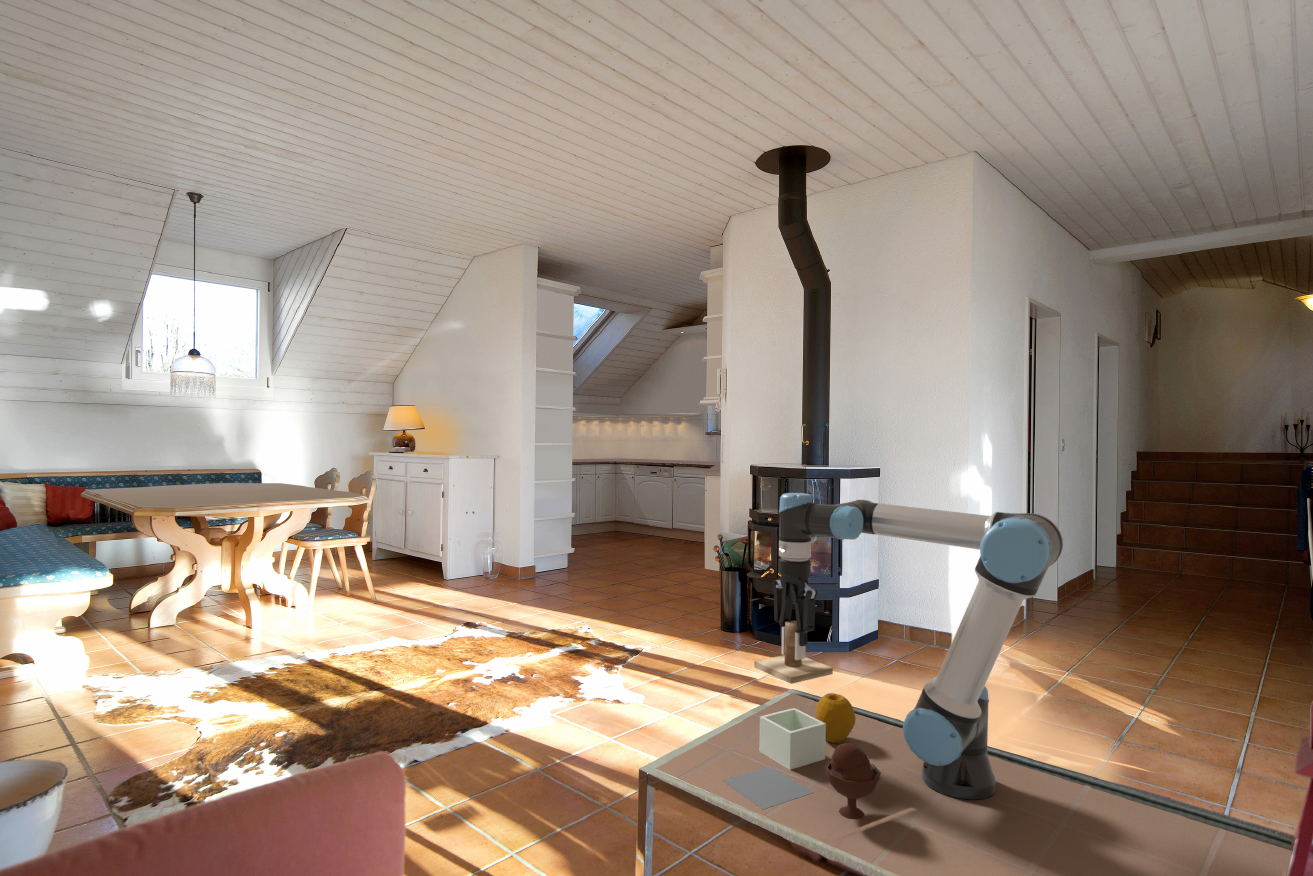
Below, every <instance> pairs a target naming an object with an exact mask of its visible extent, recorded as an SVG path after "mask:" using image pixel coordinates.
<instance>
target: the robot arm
mask: <svg viewBox="0 0 1313 876" xmlns="http://www.w3.org/2000/svg"><path fill="white" fill-rule="evenodd" d="M778 509H779V510H778V514H779V517H778V519H779V523H778V524H779V531H778V532H779V534H778V535H779V536H778V537H779V538H778V539H779V540H778V556H779V557H780V558H779V559H778V574H779V575H780V578H779V579H776V580H772V582H771V585H772V589H773V613H774V614H773V615H774V617H773V618H774V619H773V620H774V622H776V623H778V625H779V626H780V639H781V655H782V656H783V655H785V622H786V621H792V613H793V607H794V610H795V619H796V620H795V621H797V628H798V630H795V631H796V632H795V660H800V659H805V658H807V656H806V649H807V648H806V647H807V646H808V633H809V632H812V631H813V632H814V631H815V623H816V622H815V621H816V619H815V618H816V600H817V597H818V593H819V591H818V589H813V588H812V587H811V586H810V583H809V580H808V579H809V577H810V575H811V574H812V571H811V567H812V564H811V563H812V561H811V559H810V558H812V536H813V537H814V536H815V537H817V536H818V537H825V538H832V539H839V540H842V541H844V540H856V539H858V538H859V537H860V535H861V534H867V535H875V536H876V535H877V536H884V537H890V538H891V537H892V538H898V539H905V540H912V541H919V542H925V543H931V544H939V545H946V546H951V547H960V548H967V549H974V550H979V554H980V556H979V559H978V561H977V564H976V566H975V567H974V573H975V575H976V577H977V578H978V581H977V584H976V586H975V589H974V590H973V594H972V596H971V598H970V600H969V602H968V604H967V607H966V609H965V612H964V613H963V617H962V619H961V620H960V623H959V624H958V625H959V626H958V627H957V630H956V633H955V635H954V637H953V639H952V642H951V644H950V645H949V648H948V651H947V653H946V656H945V657H944V660H943V662H942V665H941V667H940V669H939V671H938V674H937V676H935V677H933V679H932V680H931V681H930V680H929V681H927V682H926V683H924V686H923V688H922V691H921V693H920V694H919V697H918V699H917V703H916V704H915V706H914V708H913V709H912V710H910V711H908V713H907V714H906V716H905V719H904V721H903V723H902V724H903V725H902V734H903V738H904V740H905V742H906V744H907V746H908V748H909V750H911V752H912V753H913V754H914V756H916V757H917V758H918V759H919V760H921V761H923V763H922V768H921V769H922V770H921V771H922V772H921V778H922V780H923V782H924V783H925V784H926V786H928V787H929V788H931V789H932V790H935V791H936V792H938V793H940V794H943V795H945V794H946V796H948V795H950V796H949V797H953V798H957V799H962V800H963V799H964V800H983V799H987V798H990V797H991V796H990V795H991V794H993V793H994V794H995V792H996V777H995V774H994V773H993V769H992V764H991V762H990V758H989V754H988V741H989V740H988V739H989V738H988V737H989V735H988V732H989V703H990V698H989V690H988V688H987V687H986V683H987V681H988V679H989V677H990V675H991V672H992V670H993V668H994V665H995V664H996V662H997V660H998V657H999V655H1000V652H1001V650H1002V648H1003V645H1004V644H1005V641H1006V639H1007V637H1008V635H1009V633H1010V630H1011V628H1012V626H1013V624H1014V622H1015V619H1016V617H1017V615H1018V613H1019V610H1020V609H1021V606H1022V604H1023V602H1024V600H1026V599H1031V598H1034V597H1035V596H1036V594H1037V593H1038V590H1039V589H1040V586H1041V584H1042V581H1043V579H1044V577H1045V576H1046V573H1047V571H1048V569H1049V568H1050V567H1051V566H1052V565H1054V564H1055V563H1056V562H1057V561H1058V559H1059V558H1060V557H1061V554H1062V552H1063V548H1064V542H1063V535H1062V533H1061V531H1060V529H1059V527H1058V526H1057V525H1056V524H1055V523H1054V522H1053V521H1052V520H1051V519H1049V518H1047V517H1046V516H1043V515H1041V514H1038V513H1033V512H1030V513H1027V512H1026V513H1025V512H1023V513H1021V512H1020V513H1018V512H1017V513H1015V512H1014V513H1013V512H1011V513H1010V512H1002V511H1001V512H1000V511H995V512H994V513H992V514H991V515H983V514H975V513H966V512H961V511H960V512H957V511H950V510H941V509H940V510H939V509H934V508H933V509H932V508H922V507H914V506H906V505H905V506H904V505H898V504H897V505H896V504H889V503H888V504H887V503H877V502H872V501H871V500H866V499H856V500H854V501H848V502H842V503H837V504H825V503H824V504H823V503H815V502H813V498H812V496H811V494H810V493H804V492H786V493H783V494H781V496H780V497H779V508H778ZM994 791H995V792H994ZM994 794H993V795H994ZM989 796H990V797H989ZM986 797H987V798H986Z"/></svg>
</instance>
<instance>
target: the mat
mask: <svg viewBox="0 0 1313 876" xmlns="http://www.w3.org/2000/svg"><path fill="white" fill-rule="evenodd" d="M722 781H723V783H725V784H726V785H727V786H729V787H731V788H732V789H733V790H735V791H736V792H738V793H739V794H740V795H742V796H743V797H745V799H748V800H749V801H750V802H751V803H753V804H754V805H755V806H757V807H759V808H760V809H761V810H766V809H768V808H771V807H774V806H777V805H781V804H784V803H787V802H790V801H792V800H796V799H799V798H802V797H805V796H808V795H811V794H814V793H815V792H814V791H812V790H811V789H810V788H807V787H806V786H804V785H802V784H801V783H800V782H798V781H796V780H795V779H793V778H792V777H790V776H788V775H787V774H785V773H783V772H782V771H780V770H778V769H777V768H775V767H774V766H773V765H770V766H766V767H764V768H760V769H756V770H752V771H749V772H747V773H743V774H740V775H737V776H733V777H730V778H726V779H724V780H722Z"/></svg>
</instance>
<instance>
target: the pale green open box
mask: <svg viewBox="0 0 1313 876" xmlns="http://www.w3.org/2000/svg"><path fill="white" fill-rule="evenodd" d="M758 739H759V745H758V746H759V747H758V748H759V749H758V750H759V751H758V752H760V753H761V754H763V755H765V756H766V757H767V758H770V759H771V760H773V761H775V762H776V763H777V764H779V765H781V766H783V768H786V769H787V770H789V771H790V770H794V769H798V768H800V767H804V766H808V765H810V764H814V763H817V762H820V761H823V760H826V741H827V740H826V724H825V723H823V722H821V721H819V720H817V719H816V717H813V716H811V715H809V714H807V713H806V712H804V711H801V710H799V709H797V708H795V707H793V708H788V709H785V710H781V711H776V712H773V713H768V714H765V715H760V716H759V738H758Z"/></svg>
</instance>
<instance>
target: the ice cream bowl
mask: <svg viewBox="0 0 1313 876" xmlns="http://www.w3.org/2000/svg"><path fill="white" fill-rule="evenodd" d="M868 756H869V755H868V754H867V753H865V751H863V750H862V749H861V748H860V747H858V746H857V745H856V744H855V743H852V742H849V743H848V742H844V743H842V744H841V743H840V744H839V745H837V746H836V747H835V748H834V751H833V753H832V756H831V759H829V760H828V761H827V762H826V764H825V765H824V767H823V768H824V772H825V776H826V778H827V780H828V782H829V784H830V785H831V786H832V788H833V789H834V790H835V791H836V793H838V794H840V795H841V796H843V797H846V799H847V803H846V804H847V805H846V806H845V805H844V806H843V807H840V808H839V810H838V813H839V814H840V815H841V816H842V817H844V818H845V819H848V820H855V821H857V820H860V819H861V820H862V819H863V818H864V817H865V813H864V811H863V810H862V809H860V808H858V807H857V799H861V798H864V797H867V796H869V795H870V794H873V792H874V791H875V789H876V787H877V785H878V783H879V781H880V779H881V774H882V772H881V771H880V769H878V768H877V767H876V765H875V764H873V763H871V762H870V759H869V757H868Z"/></svg>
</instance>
